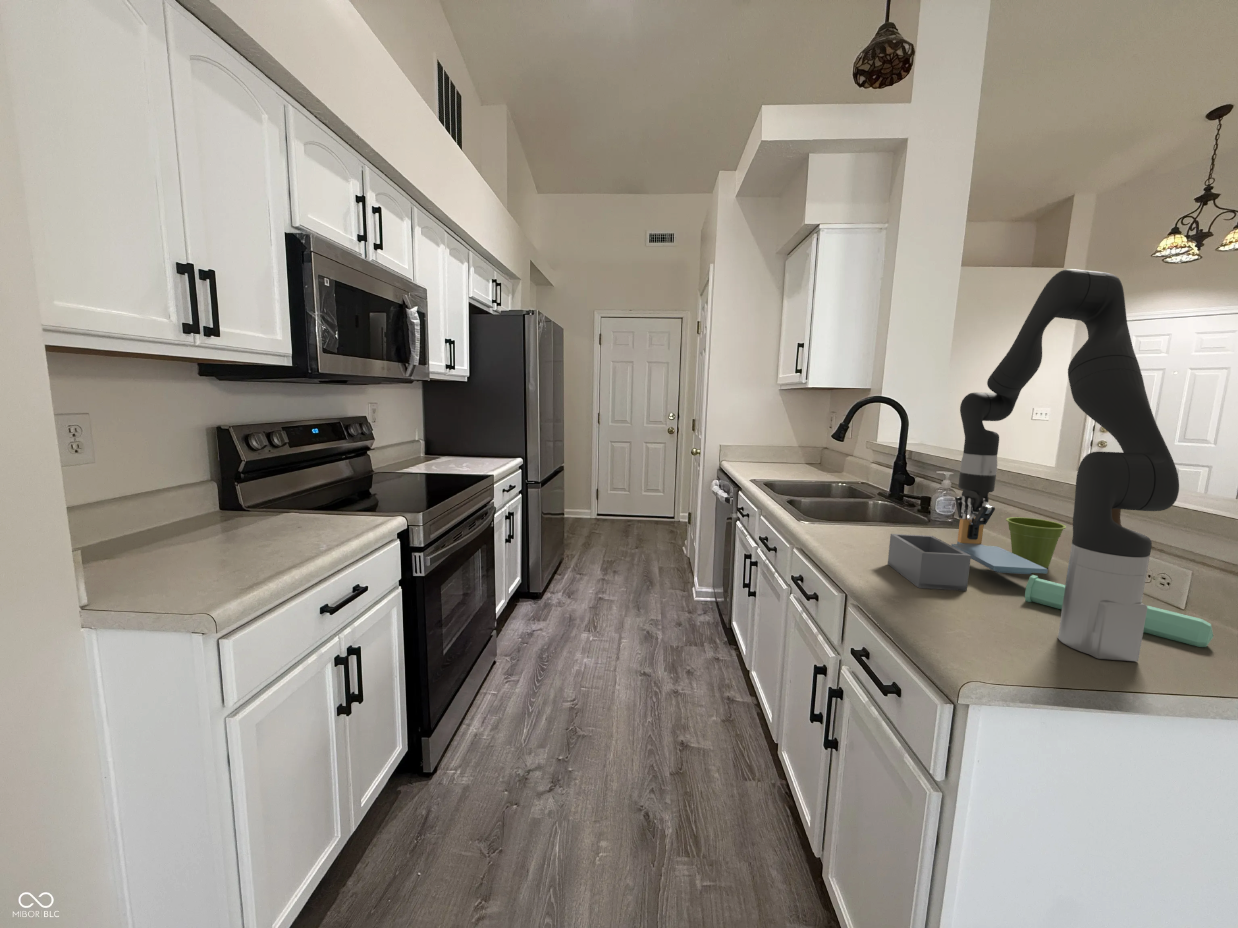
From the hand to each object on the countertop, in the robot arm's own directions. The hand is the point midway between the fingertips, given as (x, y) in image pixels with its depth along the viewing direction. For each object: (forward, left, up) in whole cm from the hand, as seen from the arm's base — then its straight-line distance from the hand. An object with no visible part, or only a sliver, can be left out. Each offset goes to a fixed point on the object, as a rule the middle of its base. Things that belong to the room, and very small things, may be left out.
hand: (969, 537), depth 127 cm
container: (-34, -7, -7) cm, 35 cm away
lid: (-9, 0, -3) cm, 10 cm away
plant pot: (+1, -16, -7) cm, 17 cm away
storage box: (-14, +17, -7) cm, 23 cm away
